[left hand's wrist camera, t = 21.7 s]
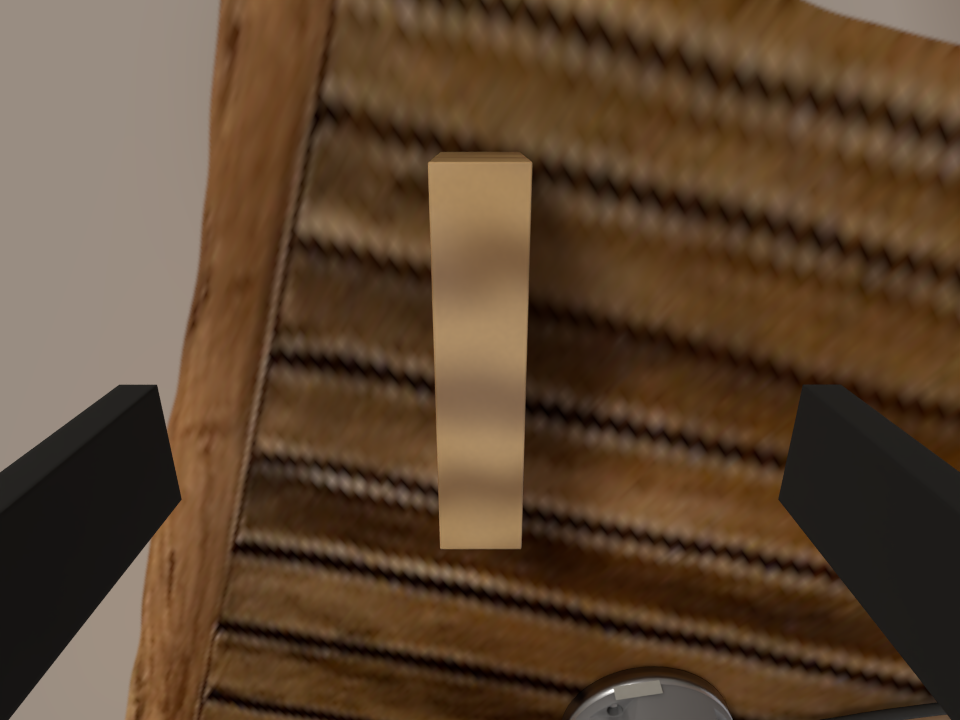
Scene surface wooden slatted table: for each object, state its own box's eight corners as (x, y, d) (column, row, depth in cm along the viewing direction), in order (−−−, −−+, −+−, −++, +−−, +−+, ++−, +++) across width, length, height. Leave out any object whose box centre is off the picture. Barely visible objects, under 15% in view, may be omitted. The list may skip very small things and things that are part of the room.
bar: (440, 152, 37) (427, 161, 28) (520, 151, 37) (532, 161, 28) (447, 467, 45) (440, 549, 36) (513, 466, 45) (521, 549, 36)
